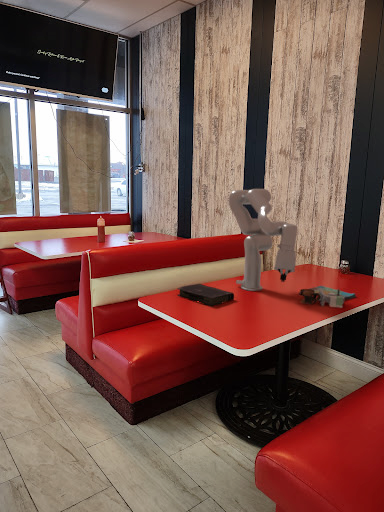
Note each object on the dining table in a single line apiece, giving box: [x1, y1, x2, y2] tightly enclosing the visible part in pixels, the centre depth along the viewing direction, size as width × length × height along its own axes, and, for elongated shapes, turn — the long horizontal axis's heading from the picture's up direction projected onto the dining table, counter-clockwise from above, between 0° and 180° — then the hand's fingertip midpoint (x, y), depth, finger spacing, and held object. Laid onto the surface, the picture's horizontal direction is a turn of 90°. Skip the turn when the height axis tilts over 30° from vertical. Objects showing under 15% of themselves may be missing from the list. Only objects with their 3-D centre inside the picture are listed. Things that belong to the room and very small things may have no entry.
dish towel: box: [309, 285, 357, 301], centre depth 218 cm, size 17×23×2 cm
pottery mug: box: [297, 288, 321, 305], centre depth 201 cm, size 12×10×8 cm
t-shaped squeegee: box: [318, 288, 345, 307], centre depth 199 cm, size 12×13×8 cm
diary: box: [176, 283, 235, 307], centre depth 204 cm, size 19×25×5 cm
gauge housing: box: [327, 293, 344, 309], centre depth 199 cm, size 6×10×5 cm, turn 168°
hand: (282, 281), depth 204 cm, fingers closed
